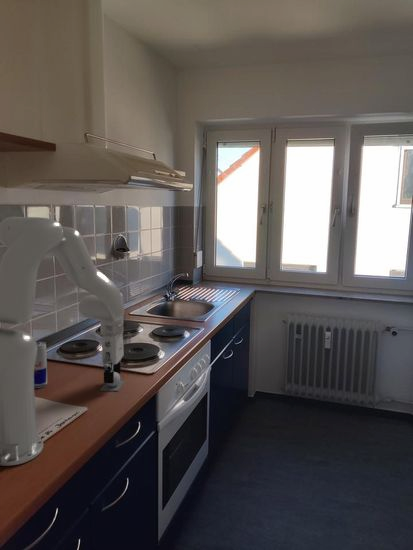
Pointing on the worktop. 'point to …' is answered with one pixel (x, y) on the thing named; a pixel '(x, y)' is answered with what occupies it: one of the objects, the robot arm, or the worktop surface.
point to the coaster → (109, 388)
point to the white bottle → (40, 366)
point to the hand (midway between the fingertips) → (112, 377)
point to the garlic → (116, 380)
